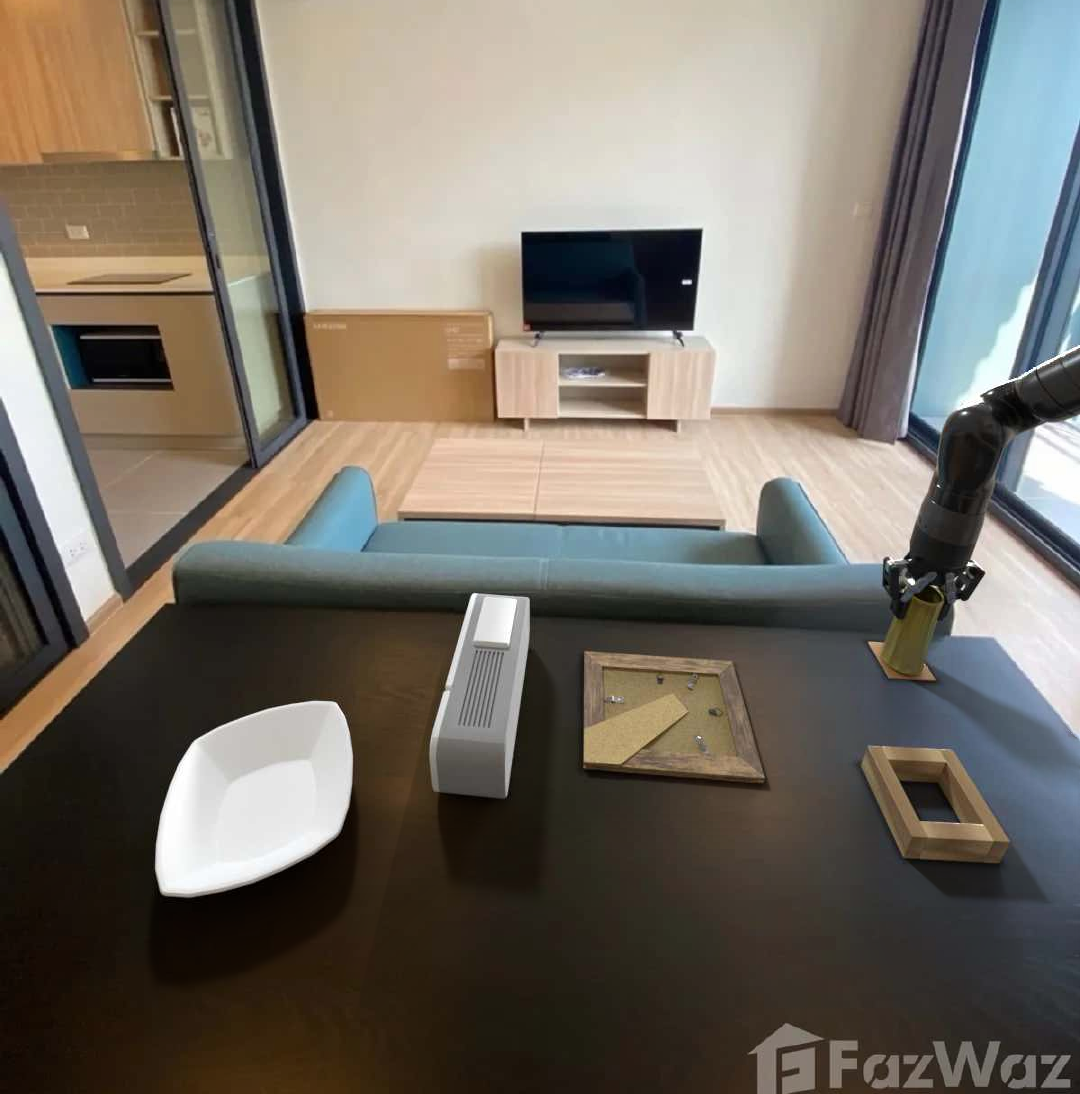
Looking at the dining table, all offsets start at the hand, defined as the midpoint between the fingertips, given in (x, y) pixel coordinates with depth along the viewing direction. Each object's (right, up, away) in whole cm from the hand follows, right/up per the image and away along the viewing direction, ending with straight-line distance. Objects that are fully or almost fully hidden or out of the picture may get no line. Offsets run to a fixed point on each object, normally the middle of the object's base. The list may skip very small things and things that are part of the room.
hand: (916, 615), depth 90 cm
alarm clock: (-67, -13, -4) cm, 68 cm away
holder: (-10, -18, -17) cm, 27 cm away
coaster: (0, -9, +4) cm, 10 cm away
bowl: (-93, -18, -17) cm, 97 cm away
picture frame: (-41, -13, -5) cm, 43 cm away
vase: (0, -9, +4) cm, 10 cm away
